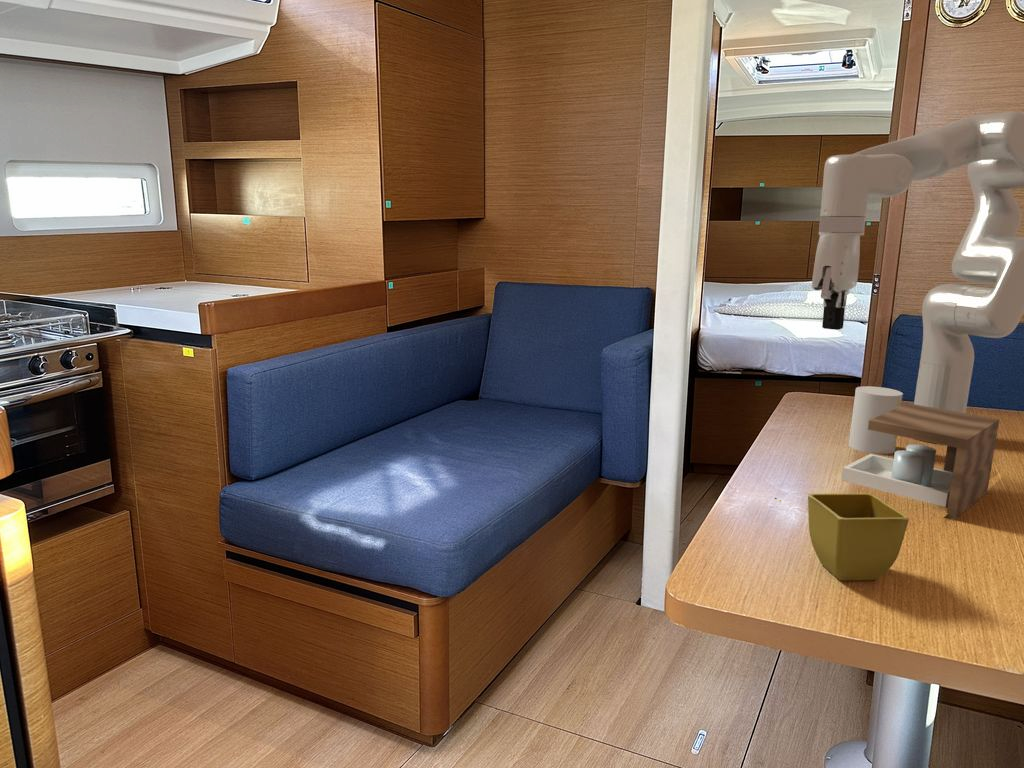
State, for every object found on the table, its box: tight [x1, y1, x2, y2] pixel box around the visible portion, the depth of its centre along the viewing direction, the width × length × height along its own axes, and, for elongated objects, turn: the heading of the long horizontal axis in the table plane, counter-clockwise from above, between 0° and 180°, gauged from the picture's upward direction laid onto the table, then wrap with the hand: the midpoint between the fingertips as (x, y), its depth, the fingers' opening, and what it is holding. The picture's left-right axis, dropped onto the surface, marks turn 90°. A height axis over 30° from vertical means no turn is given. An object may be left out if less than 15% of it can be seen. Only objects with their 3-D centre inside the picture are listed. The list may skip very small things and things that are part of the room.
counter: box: [868, 402, 1000, 521], centre depth 124 cm, size 18×14×12 cm
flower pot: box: [807, 492, 910, 581], centre depth 95 cm, size 9×9×9 cm
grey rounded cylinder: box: [905, 444, 937, 487], centre depth 128 cm, size 4×4×6 cm
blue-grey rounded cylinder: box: [891, 450, 925, 485], centre depth 124 cm, size 4×4×6 cm
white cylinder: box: [848, 385, 904, 455], centre depth 147 cm, size 8×8×12 cm
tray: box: [840, 453, 953, 508], centre depth 127 cm, size 12×16×3 cm
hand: (832, 328), depth 141 cm, fingers closed
